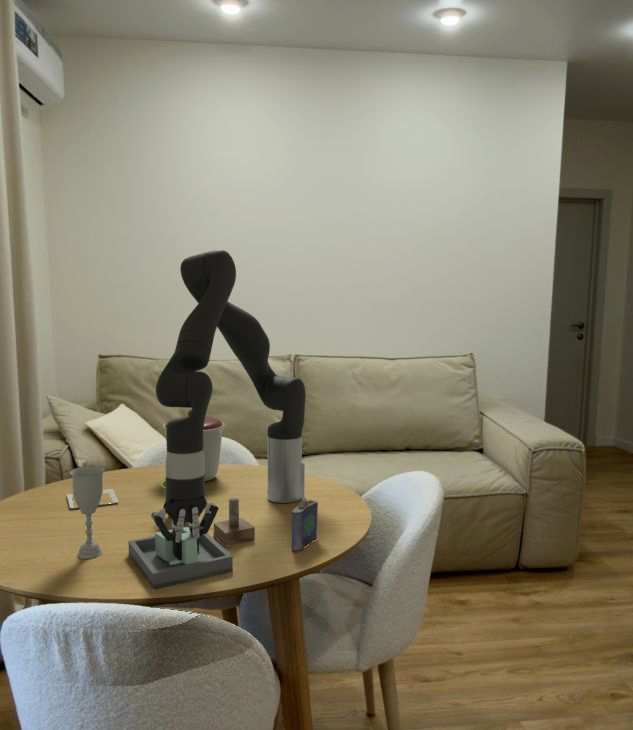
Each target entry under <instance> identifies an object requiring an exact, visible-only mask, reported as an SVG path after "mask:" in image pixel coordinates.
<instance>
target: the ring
mask: <svg viewBox="0 0 633 730" xmlns="http://www.w3.org/2000/svg"><path fill="white" fill-rule="evenodd" d="M168 530H169V532H172V529H168ZM154 536H155V546H156V555H157V556H159V557H160V558H162V559H163V560H165V561H170V560H175V559H177V558H176V557H175V556H174V555H173V541H167V540H166V538H165V537H164V536H163V535H162V533H161V532H160V531H159V532H158V531H157V532H155V533H154ZM181 542H182V560H180V561H181V562H183V563H185V564H191V563H195V562H198V555H199V554H200V552H198V553H197V539H196V538H194V537H192V536H191V534H190V530H189V526H185V527H183V531H182V538H181Z"/></svg>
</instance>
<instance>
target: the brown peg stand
mask: <svg viewBox="0 0 633 730" xmlns="http://www.w3.org/2000/svg"><path fill="white" fill-rule="evenodd" d="M255 530H256V528H255V526H254V525H252V524H251V523H250V522H248V521H247V520H246V519H244V518H243V517H240V499H239V498H237V497H230V498H229V499H228V520H223V521H217V522H213V537H215V539H217V540H218V541H219V542H220V543H221V544H223V545H224V546H225V547H229V546H233V545H238V544H244V543H248V542H252V541H255V540H256V537H255V534H256V532H255Z"/></svg>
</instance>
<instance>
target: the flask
mask: <svg viewBox="0 0 633 730" xmlns="http://www.w3.org/2000/svg"><path fill="white" fill-rule="evenodd" d="M301 498H302V499H301ZM300 500H301V501H300ZM298 501H300V503H299V505H298V506H296V507H295V508H294V509H292V510H291V545H290V546H291V547H290V548H291V551H292V550H293V551H294V552H296V551H299V552H302V551H303V550H304V549H305V548H304V547H305V546H307V545H308V544H309V543H311V542H312V541H314V540H316V539H317V540H318V537H317V535H318V533H317V532H318V528H317V527H318V511H319V510H318V508H319V507H318V505H319V503H318V501H317V500H313V499H308V498H306V497H305V496H304V498H303V497H300V499H299V500H298ZM317 540H316V541H317ZM314 542H315V541H314ZM312 543H313V542H312ZM312 543H311V544H312ZM309 545H310V544H309ZM303 548H304V549H303ZM302 549H303V550H302ZM301 550H302V551H301Z"/></svg>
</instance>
